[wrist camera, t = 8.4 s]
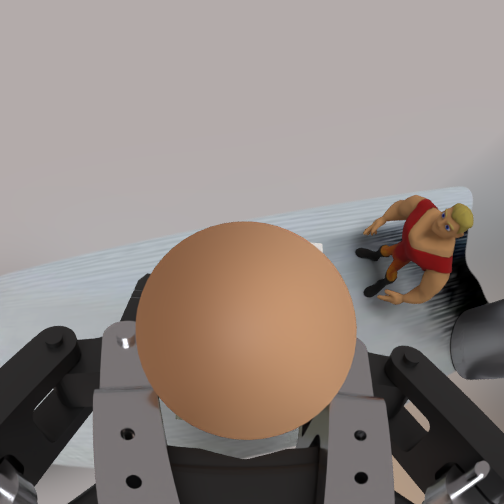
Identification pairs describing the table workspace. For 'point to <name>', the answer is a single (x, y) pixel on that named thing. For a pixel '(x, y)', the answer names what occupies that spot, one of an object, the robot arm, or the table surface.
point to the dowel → (246, 330)
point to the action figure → (419, 246)
